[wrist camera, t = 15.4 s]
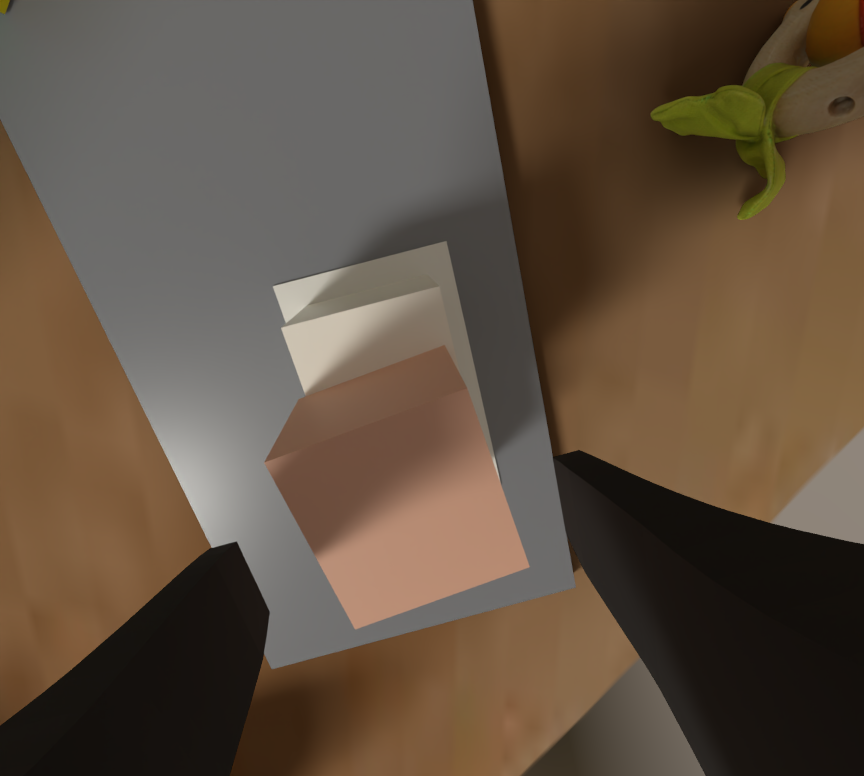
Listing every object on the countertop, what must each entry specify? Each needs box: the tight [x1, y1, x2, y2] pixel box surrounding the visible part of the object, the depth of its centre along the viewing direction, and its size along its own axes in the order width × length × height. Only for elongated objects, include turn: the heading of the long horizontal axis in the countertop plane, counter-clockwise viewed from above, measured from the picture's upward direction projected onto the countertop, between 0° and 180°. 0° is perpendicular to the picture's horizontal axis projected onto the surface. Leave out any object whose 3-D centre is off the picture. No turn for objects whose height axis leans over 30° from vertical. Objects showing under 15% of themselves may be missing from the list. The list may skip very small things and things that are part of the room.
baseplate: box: [0, 0, 576, 669], centre depth 19 cm, size 16×30×1 cm, turn 14°
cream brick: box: [281, 274, 460, 396], centre depth 17 cm, size 5×9×4 cm, turn 14°
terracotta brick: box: [264, 345, 530, 629], centre depth 13 cm, size 5×5×4 cm
